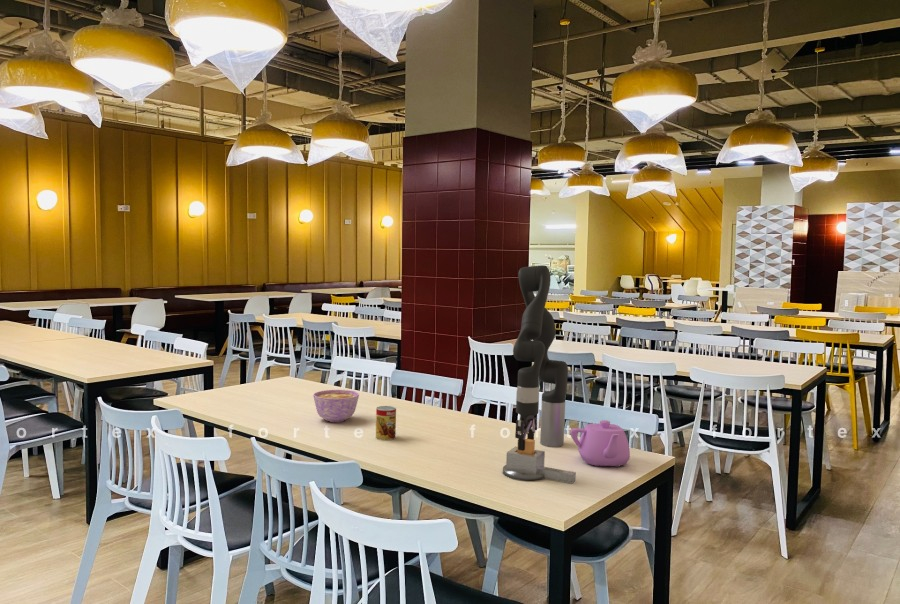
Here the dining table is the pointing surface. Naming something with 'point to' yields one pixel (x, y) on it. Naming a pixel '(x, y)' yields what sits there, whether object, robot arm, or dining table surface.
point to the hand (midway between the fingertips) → (525, 447)
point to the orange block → (528, 447)
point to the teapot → (602, 444)
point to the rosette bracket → (533, 468)
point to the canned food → (385, 422)
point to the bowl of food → (336, 404)
